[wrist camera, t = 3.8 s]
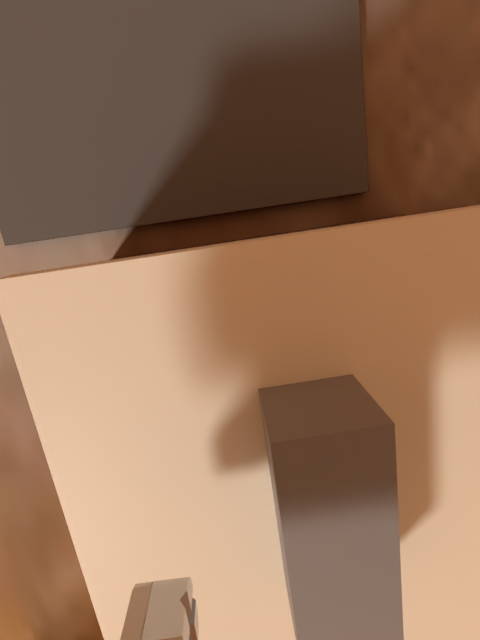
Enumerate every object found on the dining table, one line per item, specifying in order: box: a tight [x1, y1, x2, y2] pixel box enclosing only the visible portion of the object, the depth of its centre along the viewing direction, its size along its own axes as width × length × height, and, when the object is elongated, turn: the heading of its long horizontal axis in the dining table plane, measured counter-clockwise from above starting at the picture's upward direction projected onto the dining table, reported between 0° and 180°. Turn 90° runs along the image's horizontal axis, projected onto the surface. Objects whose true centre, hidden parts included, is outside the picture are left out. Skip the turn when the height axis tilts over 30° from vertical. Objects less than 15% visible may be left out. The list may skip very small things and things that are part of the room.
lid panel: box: [0, 205, 480, 640], centre depth 13 cm, size 17×17×5 cm
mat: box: [0, 0, 369, 246], centre depth 18 cm, size 19×19×1 cm
